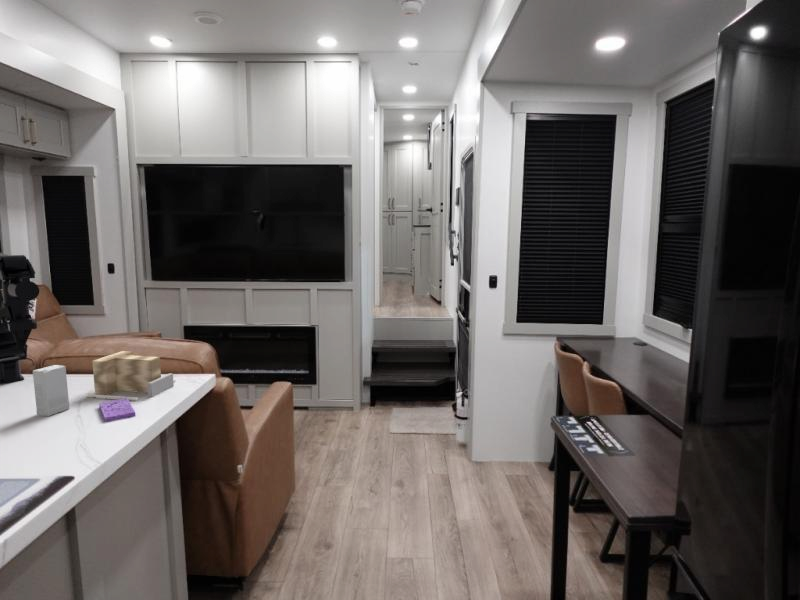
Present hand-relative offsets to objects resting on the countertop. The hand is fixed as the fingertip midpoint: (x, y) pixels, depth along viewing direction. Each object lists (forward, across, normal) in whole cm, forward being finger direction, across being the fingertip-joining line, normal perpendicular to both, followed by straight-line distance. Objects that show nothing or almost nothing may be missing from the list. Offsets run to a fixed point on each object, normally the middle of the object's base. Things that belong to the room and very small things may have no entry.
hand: (21, 349), depth 146 cm
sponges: (+13, +40, +14) cm, 44 cm away
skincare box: (+12, +29, +2) cm, 32 cm away
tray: (+12, +24, +24) cm, 36 cm away
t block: (+12, +23, +23) cm, 35 cm away
